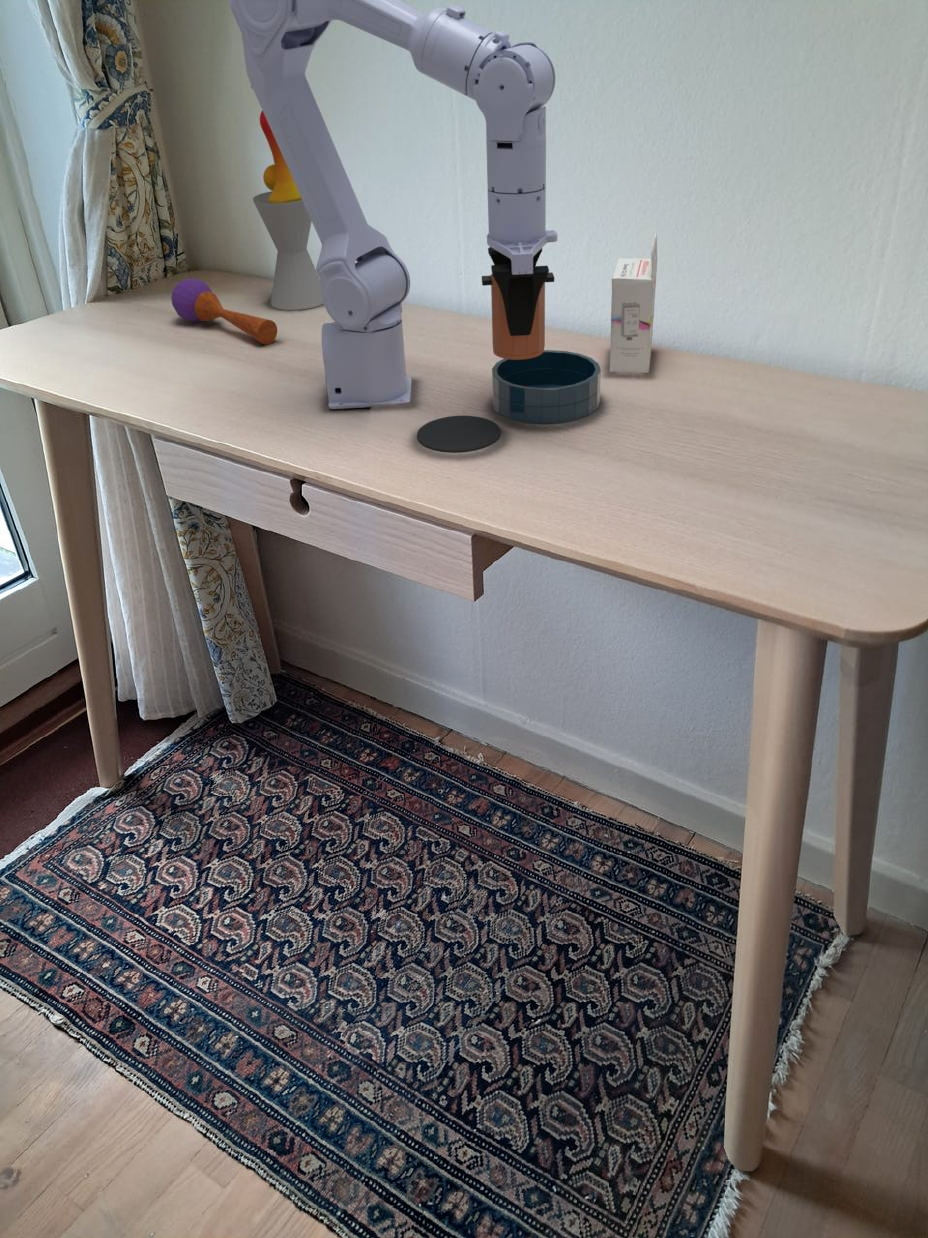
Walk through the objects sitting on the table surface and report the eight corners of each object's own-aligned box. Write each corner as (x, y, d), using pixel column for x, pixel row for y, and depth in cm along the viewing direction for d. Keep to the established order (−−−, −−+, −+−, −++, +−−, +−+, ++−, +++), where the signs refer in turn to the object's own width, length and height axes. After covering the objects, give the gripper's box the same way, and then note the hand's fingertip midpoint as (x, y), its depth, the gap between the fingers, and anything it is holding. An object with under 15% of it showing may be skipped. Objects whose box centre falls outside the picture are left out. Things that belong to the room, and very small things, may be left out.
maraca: (244, 322, 129) (157, 284, 140) (256, 361, 133) (171, 322, 144) (278, 302, 132) (191, 267, 142) (289, 341, 136) (203, 304, 147)
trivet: (416, 459, 102) (416, 452, 102) (418, 424, 110) (417, 417, 109) (503, 455, 102) (502, 448, 102) (498, 420, 109) (498, 413, 109)
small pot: (485, 361, 103) (482, 284, 99) (483, 343, 108) (480, 269, 103) (555, 357, 103) (556, 280, 99) (550, 340, 108) (550, 265, 103)
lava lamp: (341, 298, 149) (310, 30, 129) (294, 314, 144) (254, 37, 124) (303, 288, 154) (268, 29, 134) (257, 303, 149) (213, 35, 129)
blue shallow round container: (495, 431, 107) (494, 392, 104) (490, 389, 117) (489, 352, 114) (605, 426, 107) (607, 386, 104) (591, 384, 117) (592, 347, 114)
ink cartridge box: (612, 351, 125) (617, 231, 117) (651, 352, 125) (659, 230, 116) (607, 376, 119) (611, 250, 110) (648, 377, 118) (656, 250, 109)
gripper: (565, 202, 90) (563, 346, 98) (550, 170, 102) (549, 301, 110) (488, 206, 90) (492, 350, 98) (482, 174, 102) (486, 305, 110)
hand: (518, 324), depth 104 cm, fingers closed on small pot, 5 cm apart
